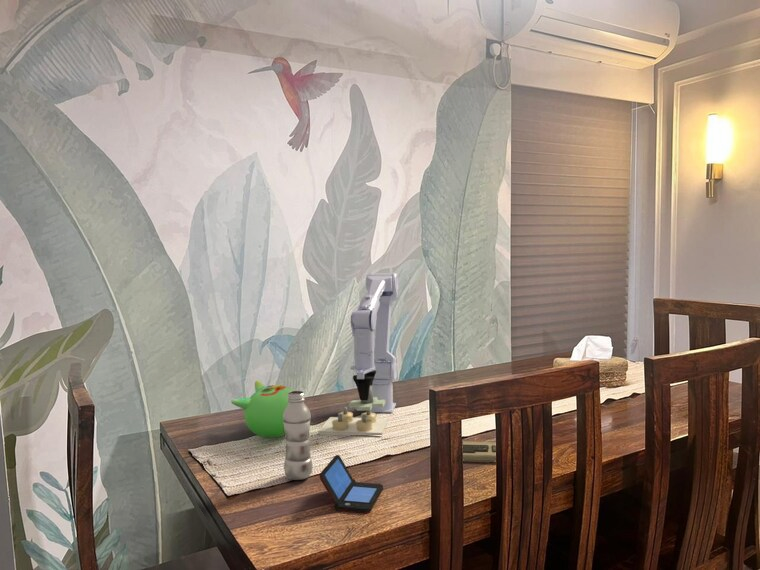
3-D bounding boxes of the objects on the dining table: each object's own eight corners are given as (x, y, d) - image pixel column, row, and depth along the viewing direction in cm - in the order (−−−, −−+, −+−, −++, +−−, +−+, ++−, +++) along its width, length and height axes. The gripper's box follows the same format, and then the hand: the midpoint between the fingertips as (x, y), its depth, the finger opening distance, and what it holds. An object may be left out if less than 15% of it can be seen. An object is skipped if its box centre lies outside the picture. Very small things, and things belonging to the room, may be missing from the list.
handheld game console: (370, 515, 115) (369, 479, 114) (318, 510, 117) (317, 475, 117) (384, 488, 127) (383, 455, 126) (337, 484, 129) (336, 452, 129)
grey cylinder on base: (354, 401, 172) (353, 382, 172) (387, 400, 170) (385, 381, 170) (346, 410, 163) (344, 391, 162) (380, 410, 161) (379, 390, 160)
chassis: (330, 420, 175) (329, 404, 175) (388, 421, 173) (388, 405, 172) (319, 434, 163) (318, 417, 162) (382, 436, 160) (381, 418, 159)
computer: (437, 462, 141) (437, 449, 141) (438, 451, 149) (438, 438, 149) (502, 465, 139) (502, 451, 139) (500, 453, 147) (500, 440, 147)
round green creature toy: (290, 447, 153) (288, 393, 151) (231, 444, 156) (228, 391, 155) (311, 426, 170) (310, 377, 169) (258, 423, 174) (256, 375, 172)
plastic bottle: (299, 469, 138) (296, 387, 136) (318, 476, 133) (316, 391, 132) (278, 478, 133) (275, 393, 131) (298, 486, 128) (295, 398, 127)
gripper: (355, 346, 173) (356, 391, 174) (345, 356, 159) (346, 404, 160) (378, 346, 172) (379, 391, 173) (370, 356, 158) (371, 405, 159)
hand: (365, 397), depth 166 cm, fingers closed on grey cylinder on base, 4 cm apart
